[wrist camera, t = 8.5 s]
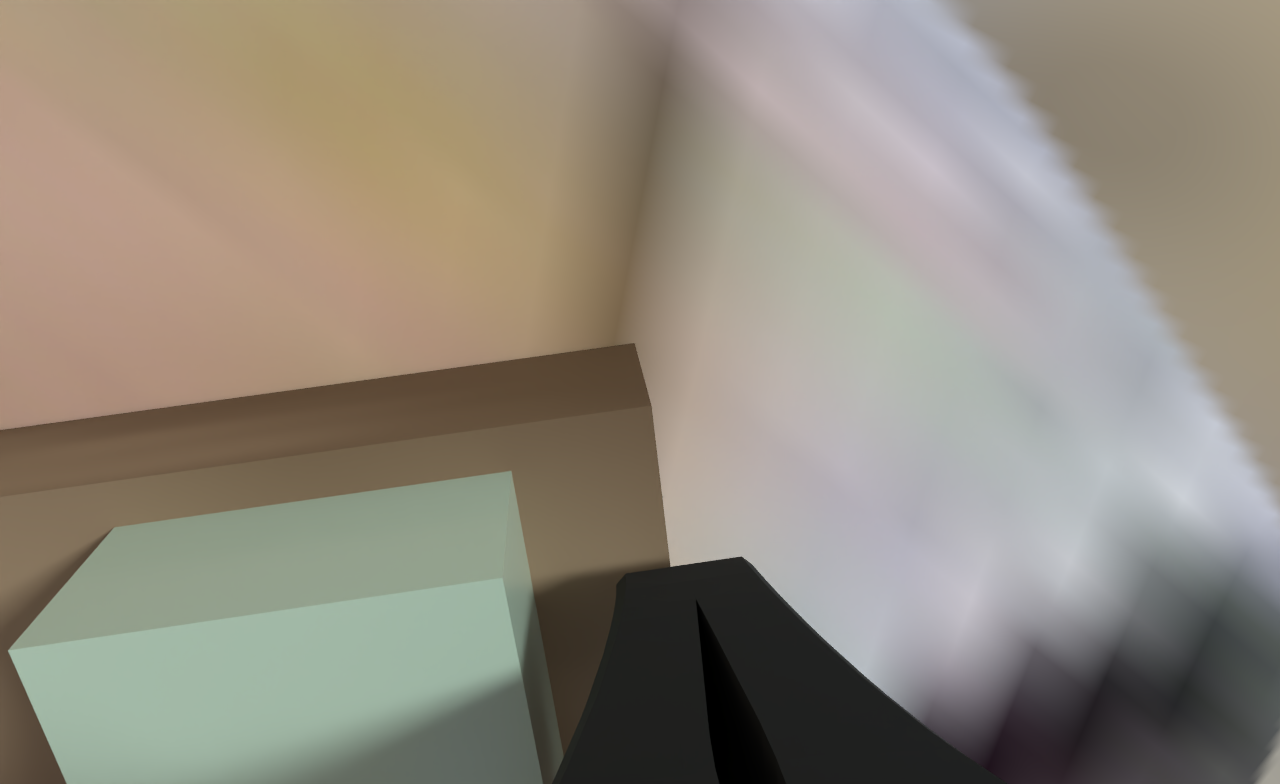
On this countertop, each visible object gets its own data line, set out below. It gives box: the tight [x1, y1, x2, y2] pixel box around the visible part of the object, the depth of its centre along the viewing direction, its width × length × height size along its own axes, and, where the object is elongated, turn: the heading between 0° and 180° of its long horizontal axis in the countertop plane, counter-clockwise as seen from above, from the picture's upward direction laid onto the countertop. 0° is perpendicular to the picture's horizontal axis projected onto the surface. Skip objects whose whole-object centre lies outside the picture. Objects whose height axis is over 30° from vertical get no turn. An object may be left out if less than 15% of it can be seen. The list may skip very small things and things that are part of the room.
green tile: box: [8, 471, 564, 784], centre depth 9 cm, size 4×4×2 cm
